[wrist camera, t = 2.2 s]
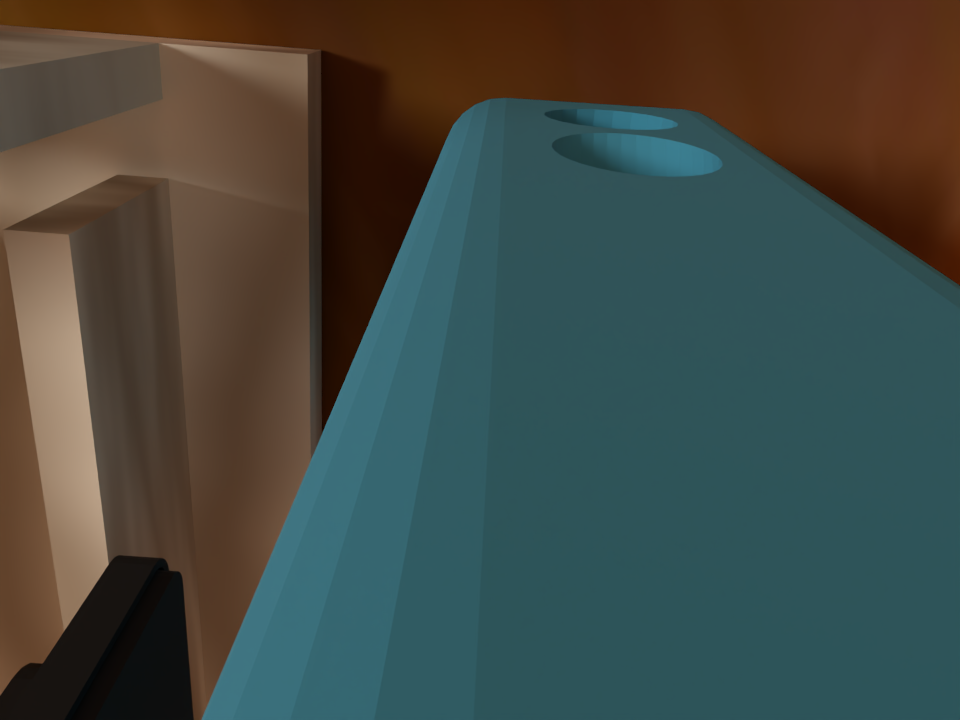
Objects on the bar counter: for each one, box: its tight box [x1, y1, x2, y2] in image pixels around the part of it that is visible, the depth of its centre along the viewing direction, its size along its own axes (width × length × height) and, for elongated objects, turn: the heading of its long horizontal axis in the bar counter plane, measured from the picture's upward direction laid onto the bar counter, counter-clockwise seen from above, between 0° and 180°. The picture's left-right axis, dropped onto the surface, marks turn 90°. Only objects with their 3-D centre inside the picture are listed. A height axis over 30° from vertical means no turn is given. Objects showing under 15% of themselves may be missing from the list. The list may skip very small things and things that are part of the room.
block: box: [202, 98, 960, 720], centre depth 14 cm, size 12×5×20 cm, turn 177°
